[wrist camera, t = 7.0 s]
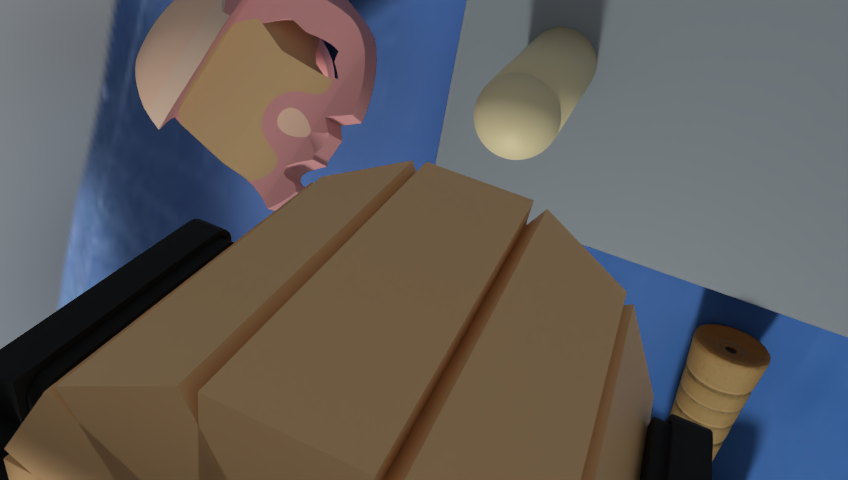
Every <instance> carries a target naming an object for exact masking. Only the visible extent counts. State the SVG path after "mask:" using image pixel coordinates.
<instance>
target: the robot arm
mask: <svg viewBox="0 0 848 480" xmlns="http://www.w3.org/2000/svg"><path fill="white" fill-rule="evenodd" d="M232 244H233V242H231V235H230V233H229V232H228V231H227V230H225V229H222V228H220V227H217V226H215V225H212V224H210V223H208V222H205V221H203V220H200V219H193V220H191V221H189V222H188V223H186V224H185V225H183V226H182V227H180V228H179V229H177V230H176V231H174V232H173V233H171V234H170V235H168V236H167V237H165V238H164V239H163V240H161V241H160V242H158V243H157V244H155V245H154V246H152V247H151V248H149V249H148V250H146V251H145V252H143V253H142V254H140V255H139V256H137V257H136V258H135V259H133V260H132V261H130V262H129V263H127V264H126V265H124V266H123V267H121V268H120V269H118V270H117V271H115V272H114V273H112V274H111V275H109V276H108V277H107V278H105V279H104V280H102V281H101V282H99V283H98V284H96V285H95V286H93V287H92V288H90V289H89V290H87V291H86V292H84V293H83V294H81V295H80V296H78V297H77V298H76V299H74V300H73V301H71V302H70V303H68V304H67V305H65V306H64V307H62V308H61V309H59V310H58V311H56V312H55V313H53V314H52V315H50V316H49V317H48V318H46V319H45V320H43V321H42V322H40V323H39V324H37V325H36V326H34V327H33V328H31V329H30V330H28V331H27V332H25V333H24V334H23V335H21V336H20V337H18V338H17V339H15V340H14V341H12V342H11V343H9V344H8V345H6V346H5V347H3V348H2V349H0V480H9V478H8V475H7V471H6V467H5V463H4V460H3V459H4V458H5V457H6V456H7V455H9V453H8V452H7V451H6V450H5V449H4V448H5V447H6V446H7V444H8V443H9V441H10V440H11V438H12V437H13V436H14V434H15V433H16V431H17V430H18V428H19V427H20V426H21V424H22V423H23V421H24V420H25V418H26V417H27V416H28V414H29V413H30V411H31V410H32V408H33V407H34V406H35V404H36V403H37V401H38V400H39V398H40V397H41V396H42V394H43V393H44V391H45V390H47V389H48V388H49V387H51V386H52V385H53V384H54V383H56V382H57V381H58V380H59V379H61V378H62V377H63V376H65V375H66V374H67V373H68V372H70V371H71V370H72V369H74V368H75V367H76V366H77V365H79V364H80V363H81V362H82V361H84V360H85V359H86V358H88V357H89V356H90V355H91V354H93V353H94V352H95V351H97V350H98V349H99V348H100V347H102V346H103V345H104V344H106V343H107V342H108V341H109V340H111V339H112V338H113V337H114V336H116V335H117V334H118V333H120V332H121V331H122V330H123V329H125V328H126V327H127V326H129V325H130V324H131V323H132V322H134V321H135V320H136V319H138V318H139V317H140V316H141V315H143V314H144V313H145V312H146V311H148V310H149V309H150V308H152V307H153V306H154V305H155V304H157V303H158V302H159V301H161V300H162V299H163V298H164V297H166V296H167V295H168V294H170V293H171V292H172V291H173V290H175V289H176V288H177V287H178V286H180V285H181V284H182V283H184V282H185V281H186V280H187V279H189V278H190V277H191V276H193V275H194V274H195V273H196V272H198V271H199V270H200V269H201V268H203V267H204V266H205V265H207V264H208V263H209V262H210V261H212V260H213V259H214V258H216V257H217V256H218V255H219V254H221V253H222V252H223V251H225V250H226V249H227V248H228V247H230V246H231V245H232ZM712 454H713V432H712V430H711V429H708V428H706V427H703V426H701V425H699V424H696V423H694V422H691V421H689V420H686V419H684V418H682V417H679V416H677V415H674V414H671V415H670V416H669V417H668V419H667V420H666V422H665V421H662V420H660V419H657V418H653V419H652V420H651V422H650V423H649V425H648V427H647V434H646V441H645V447H644V454H643V460H642V467H641V473H640V480H712Z"/></svg>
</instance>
